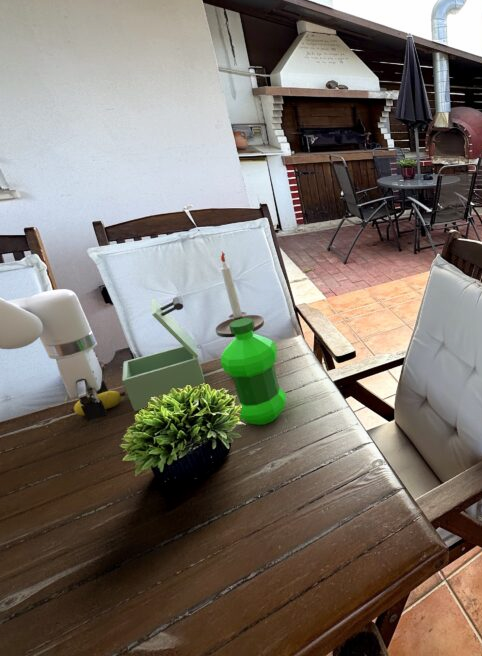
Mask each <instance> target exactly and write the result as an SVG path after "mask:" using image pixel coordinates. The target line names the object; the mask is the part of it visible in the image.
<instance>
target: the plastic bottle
mask: <svg viewBox="0 0 482 656" xmlns="http://www.w3.org/2000/svg"><path fill="white" fill-rule="evenodd" d="M229 326H230V330H231V333H232V334H234V335H235V337H234V339H233V340H232V341H230V343H229V344H228V345H227V346H226V347H225V348H224V350H223V352H222V354H221V357H220V365H221V368H222V370H223V371H224V373H227V374H228V375H229V376H231V377H232V379H233V383H234V387H235V390H236V395H237V397H238V400H239V402H238V404H237V406H238V405H239V404H241V405H242V410H241V415H240V417H239V418H240V419H241V420H242V421H244V422H246V423H247V424H250V425H256V426H261V425H266V424H269V423H271V422H273V421H274V420H276V419H277V418H278V416H279V415H280V414H281V413H282V412H283V411H284V410H285V407H286V402H287V394H286V392H285V391H284V390H283V388H281V387H280V386H279V381H278V376H277V372H276V368H275V363H276V361H277V357H278V348H277V344H276V343H275V342H274V341H273V340H272V339H270V338H267V337H265V336H262V335H260V334H256V333H254V332H253V330H254V327H255V326H254V322H253V319H251V318H242V319H238V320H235V321H233V322H231V323H230V325H229Z"/></svg>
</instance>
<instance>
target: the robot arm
mask: <svg viewBox="0 0 482 656" xmlns="http://www.w3.org/2000/svg"><path fill="white" fill-rule="evenodd" d="M38 339H39V340H40V341H41V344H42V345H43V348H44V350H45V352H46V354H47V356H48V358H49V359H51V360H55V361H56V366H57V369H58V372H59V374H60V377H61V381H62V382H63V386H64V387H65V390H66V393H67V395H68V397H69V399H71V400H73V399H75V398H77V397H78V401H79V400H80V404H81V408H82V410H83V412H84V414H85V415H84V416H85V419H86V421H88V422H91V421H94V420H97V419H100V418H104V417H106V416H107V415H108V411H107V409H105V407H104V405H103V403H102V400H99V398H98V394H101V393H104V392H107V391H109V389H108V387H107V383H106V382H105V380H103V370H102V368H101V364H100V363H99V359H98V358H97V355H96V353H95V351H94V348H95V347H97V345H98V342H97V340H96V337H95V335H94V333H93V331H92V328H91V326H90V323H89V321H88V319H87V317H86V314H85V312H84V310H83V307H82V304H81V302H80V300H79V297H78V295H77V294H76V292H74V291H73V290H70V289H65V288H62V289H61V288H60V289H52V290H45V291H42V292H38V293H36V294H33V295H31V296H27V297H23V298H16V299H10V300H6V299H4V298H2V297H0V349H1V350H17V349H21V348H24V347H25V348H26V347H27V346H29V345H31V344H33V343H34V342H36V341H37V340H38ZM90 396H91V397H90ZM92 396H94V398H93V397H92Z"/></svg>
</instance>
